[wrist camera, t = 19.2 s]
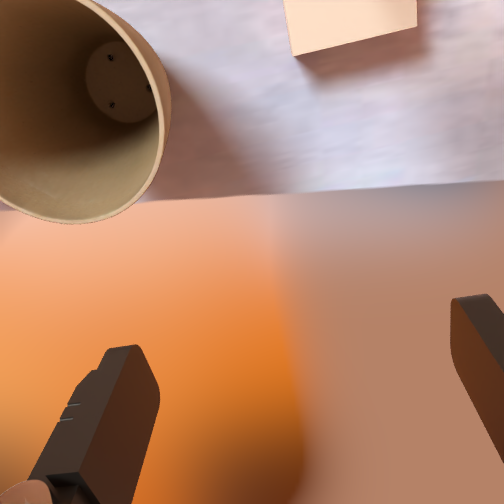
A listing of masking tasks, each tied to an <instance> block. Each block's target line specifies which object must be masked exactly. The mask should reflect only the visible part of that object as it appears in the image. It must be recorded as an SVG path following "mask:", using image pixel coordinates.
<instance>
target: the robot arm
mask: <svg viewBox="0 0 504 504" xmlns="http://www.w3.org/2000/svg"><path fill="white" fill-rule="evenodd" d="M450 327H451V332H450V336H451V337H450V346H451V355H452V359H453V363H454V366H455V368H456V371H457V373H458V375H459V377H460V379H461V381H462V383H463V385H464V387H465V389H466V391H467V393H468V395H469V396H470V399H471V400H472V402H473V404H474V406H475V408H476V410H477V412H478V414H479V416H480V418H481V420H482V422H483V424H484V426H485V428H486V430H487V432H488V434H489V436H490V438H491V440H492V442H493V443H494V445H495V447H496V449H497V451H498V453H499V455H500V457H501V459H502V461H503V463H504V314H503V313H502V311H501V310H500V309H499V307H498V306H497V305H496V303H495V302H494V301H493V300H492V298H491V297H490V296H489V295H488V294H481V295H474V296H467V297H460V298H454V299H452V301H451V326H450ZM159 405H160V392H159V387H158V384H157V382H156V379H155V377H154V375H153V373H152V371H151V369H150V366H149V364H148V362H147V360H146V358H145V356H144V354H143V351H142V349H141V348H140V347H139V346H138V345H129V346H122V347H116V348H110V349H108V350H107V351H106V352H105V354H104V356H103V358H102V360H101V362H100V364H99V366H98V368H97V370H92V371H91V372H90V373H89V374H88V375H87V376H86V377H85V378H84V379H83V380H82V381H81V382H80V383H79V384H78V385H77V387H76V388H75V390H74V392H73V394H72V396H71V398H70V400H69V402H68V407H66V408H65V409H64V411H63V413H62V415H61V417H60V422H58V423H57V425H56V427H55V429H54V430H53V432H52V434H51V436H50V438H49V440H48V442H47V444H46V446H45V447H44V449H43V451H42V453H41V455H40V457H39V459H38V461H37V463H36V465H35V467H34V468H33V470H32V472H31V474H30V476H29V478H28V479H27V481H24V482H21V483H19V484H17V485H15V486H13V487H11V488H10V489H8V490H7V491H5V492H4V493H3V494H2V495H1V496H0V504H131V503H132V500H133V496H134V493H135V489H136V486H137V482H138V479H139V476H140V472H141V468H142V465H143V461H144V458H145V455H146V451H147V447H148V444H149V441H150V437H151V434H152V430H153V427H154V423H155V420H156V416H157V413H158V410H159Z"/></svg>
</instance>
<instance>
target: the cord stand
mask: <svg viewBox="0 0 504 504" xmlns="http://www.w3.org/2000/svg"><path fill="white" fill-rule="evenodd" d="M283 6H284V12H285V18H286V25H287V31H288V37H289V43H290V49H291V53H292V56H297V55H301V54H305V53H309V52H313V51H318V50H322V49H326V48H330V47H334V46H338V45H342V44H346V43H351V42H355V41H359V40H363V39H367V38H371V37H375V36H380V35H384V34H388V33H392V32H396V31H400V30H404V29H408V28H413V27H417V0H283Z"/></svg>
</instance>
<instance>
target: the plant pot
mask: <svg viewBox="0 0 504 504" xmlns="http://www.w3.org/2000/svg"><path fill="white" fill-rule="evenodd" d="M109 54H111V55H112V56H113V60H112V61H110V60H109V58H108V55H109ZM148 85H151V88H152V89H149V88H148ZM112 103H114V104H115V105H114V107H111V104H112ZM170 122H171V93H170V86H169V82H168V78H167V75H166V72H165V70H164V67H163V65H162V63H161V61H160V59H159V57H158V56H157V54H156V53H155V51H154V50H153V48H152V47H151V46H150V45H149V43H148V42H147V41H146V40H145V39H144V38H143V37H142V35H141V34H139V33H138V32H137V31H136V30H135V29H134V28H133V27H132V26H131V25H130V24H128V23H127V22H126V21H124V20H123V19H122V18H121V17H119V16H118V15H116V14H115V13H113V12H112V11H110V10H108V9H107V8H105V7H103V6H102V5H100V4H98V3H96V2H94V1H92V0H0V200H1V201H2V202H4V203H5V204H7V205H9V206H10V207H12V208H14V209H16V210H18V211H20V212H22V213H25V214H27V215H30V216H32V217H35V218H38V219H41V220H45V221H49V222H55V223H61V224H85V223H93V222H97V221H101V220H105V219H108V218H110V217H113V216H115V215H117V214H119V213H121V212H122V211H124V210H126V209H127V208H129V207H130V206H131V205H132V204H134V203H135V202H136V201H137V200H138V199H139V198H140V197H141V196H142V195H143V194H144V192H145V191H146V190H147V189H148V187H149V186H150V184H151V182H152V181H153V179H154V177H155V175H156V173H157V171H158V168H159V165H160V162H161V159H162V156H163V153H164V149H165V146H166V142H167V139H168V134H169V129H170Z"/></svg>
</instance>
